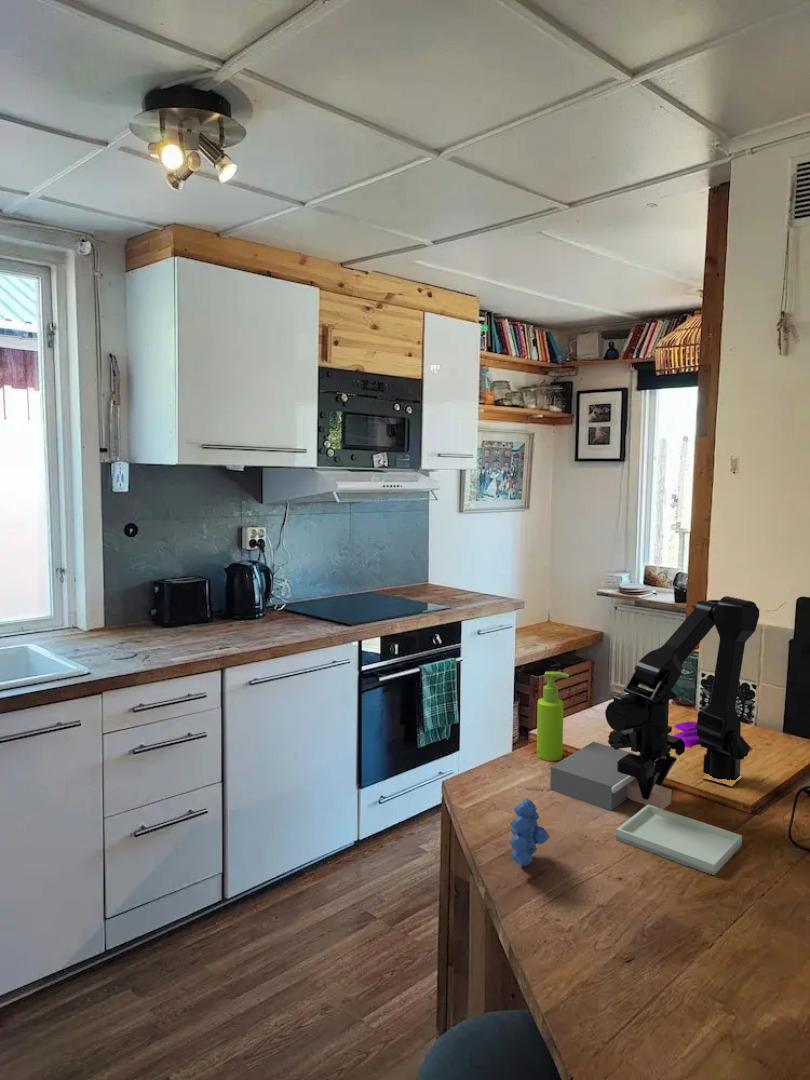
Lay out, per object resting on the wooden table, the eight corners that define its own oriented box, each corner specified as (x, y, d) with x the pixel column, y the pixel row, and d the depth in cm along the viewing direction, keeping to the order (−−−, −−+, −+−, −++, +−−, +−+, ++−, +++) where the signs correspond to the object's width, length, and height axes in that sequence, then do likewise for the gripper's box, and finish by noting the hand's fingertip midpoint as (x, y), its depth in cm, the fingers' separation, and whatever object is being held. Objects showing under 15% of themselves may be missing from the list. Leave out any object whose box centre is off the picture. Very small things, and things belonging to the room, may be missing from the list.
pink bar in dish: (670, 803, 158) (671, 789, 157) (661, 810, 155) (662, 796, 154) (609, 782, 167) (609, 769, 167) (599, 788, 164) (599, 775, 164)
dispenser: (655, 781, 167) (656, 759, 166) (615, 812, 154) (615, 788, 153) (593, 762, 177) (593, 741, 176) (550, 789, 164) (550, 766, 163)
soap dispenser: (566, 762, 177) (568, 677, 175) (536, 759, 179) (537, 675, 176) (566, 752, 183) (568, 669, 180) (537, 749, 185) (538, 668, 182)
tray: (741, 845, 141) (742, 835, 141) (713, 875, 132) (714, 864, 131) (647, 813, 153) (647, 804, 153) (615, 839, 144) (616, 829, 143)
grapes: (542, 888, 129) (543, 819, 127) (502, 879, 131) (502, 812, 129) (555, 852, 139) (556, 789, 138) (518, 845, 142) (518, 783, 140)
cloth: (754, 761, 178) (755, 736, 177) (669, 750, 185) (670, 725, 184) (750, 727, 199) (751, 704, 198) (673, 718, 206) (674, 696, 205)
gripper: (636, 700, 168) (634, 769, 171) (593, 724, 155) (591, 798, 157) (687, 712, 161) (684, 784, 163) (646, 739, 147) (643, 816, 149)
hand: (650, 795), depth 158 cm, fingers closed on pink bar in dish, 4 cm apart
